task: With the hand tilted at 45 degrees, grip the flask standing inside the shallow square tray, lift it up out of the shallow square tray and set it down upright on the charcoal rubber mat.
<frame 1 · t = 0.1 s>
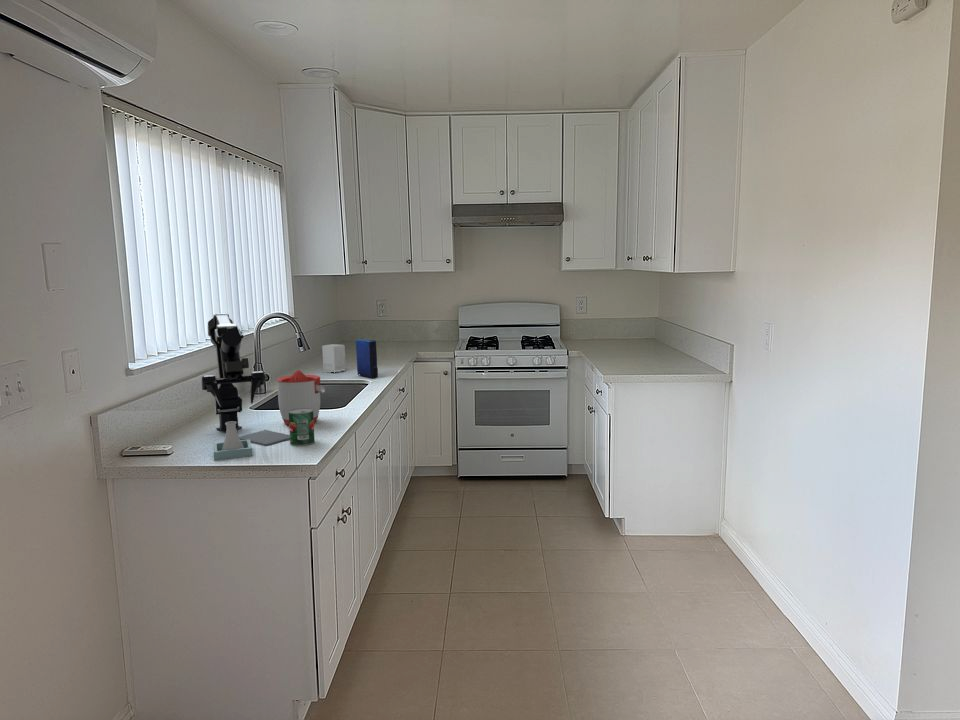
hand: (236, 405, 202), 15 cm above the worktop, tool tilted 35°, fingers open, 9 cm apart
canned tomato: (302, 443, 213), on the worktop
citrus juicer: (303, 423, 241), on the worktop
book: (367, 377, 339), on the worktop
shallow square tray: (232, 453, 202), on the worktop
supplement box: (334, 372, 357), on the worktop
mat: (265, 438, 219), on the worktop
flask: (232, 454, 202), resting in shallow square tray
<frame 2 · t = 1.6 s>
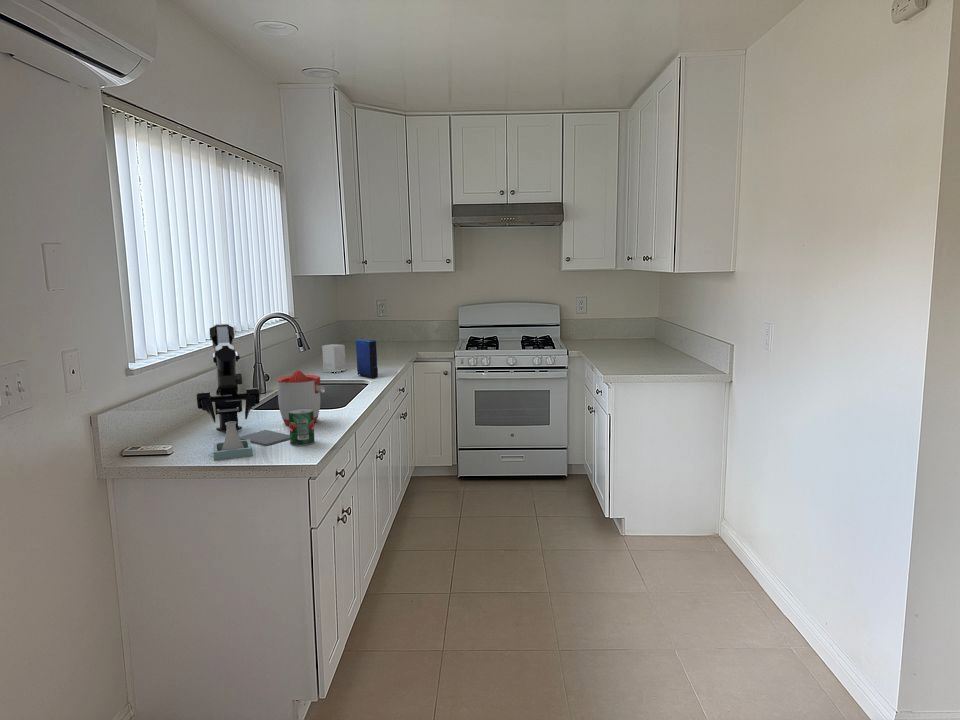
hand: (230, 420, 202), 10 cm above the worktop, tool tilted 45°, fingers open, 9 cm apart
nothing on the worktop moved.
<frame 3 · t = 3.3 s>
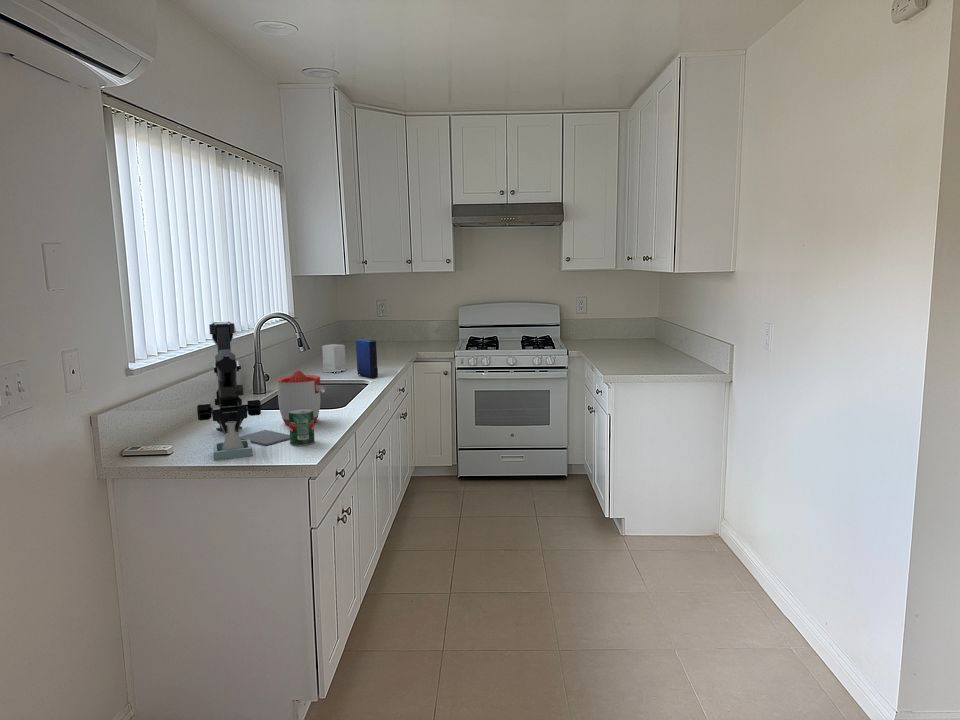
hand: (231, 432, 199), 7 cm above the worktop, tool tilted 45°, fingers closed on flask, 3 cm apart
flask: (232, 453, 202), resting in shallow square tray, touching gripper
everything else where it was.
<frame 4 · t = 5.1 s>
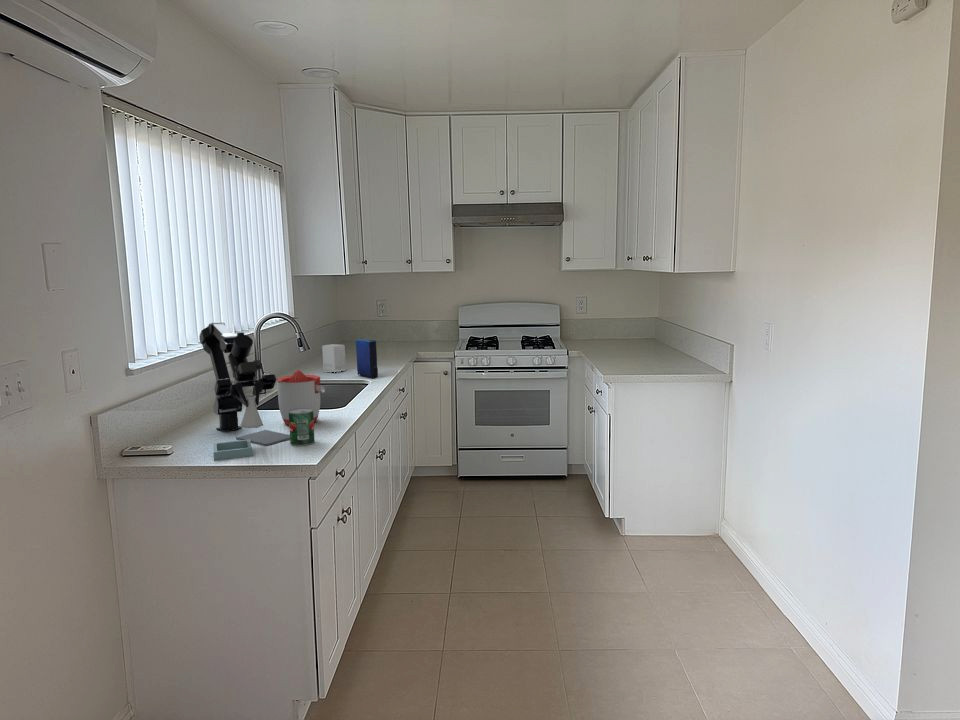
hand: (252, 405, 207), 14 cm above the worktop, tool tilted 45°, fingers closed on flask, 3 cm apart
flask: (252, 426, 209), point 6 cm above the worktop, touching gripper
everything else where it was.
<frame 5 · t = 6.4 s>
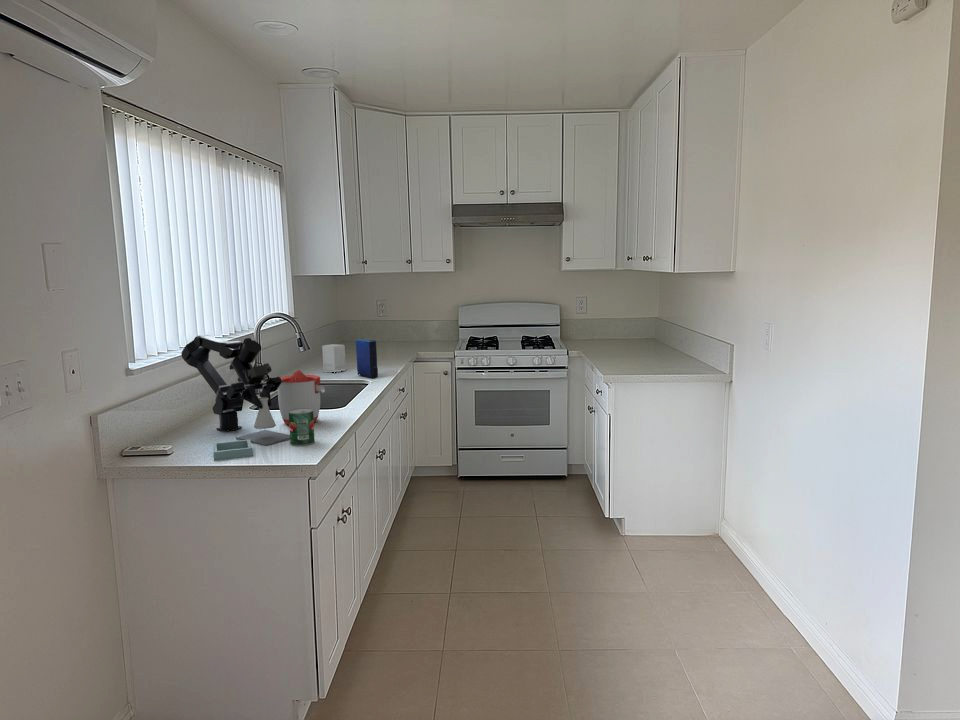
hand: (266, 407, 217), 11 cm above the worktop, tool tilted 45°, fingers closed on flask, 3 cm apart
flask: (264, 427, 218), point 4 cm above the worktop, touching gripper
everything else where it was.
when the fingers open (9 cm above the worktop, at t = 7.1 s): flask drops 1 cm, resting on mat.
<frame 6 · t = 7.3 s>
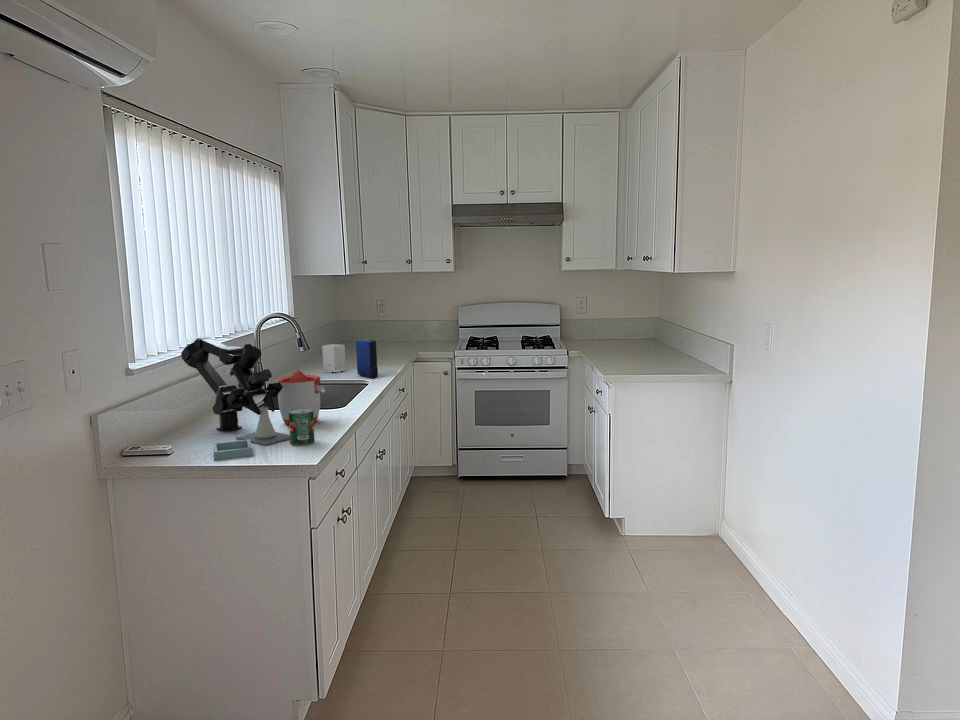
hand: (266, 412, 217), 9 cm above the worktop, tool tilted 45°, fingers open, 5 cm apart
flask: (265, 437, 219), resting on mat
everything else where it was.
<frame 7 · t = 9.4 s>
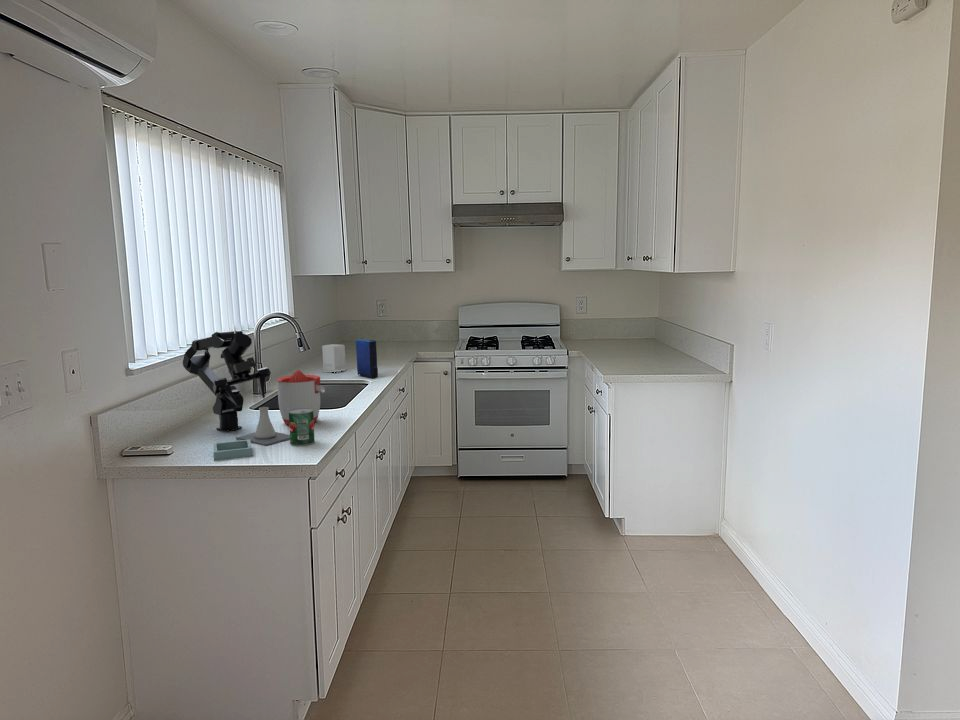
hand: (250, 401, 219), 12 cm above the worktop, tool tilted 35°, fingers open, 9 cm apart
nothing on the worktop moved.
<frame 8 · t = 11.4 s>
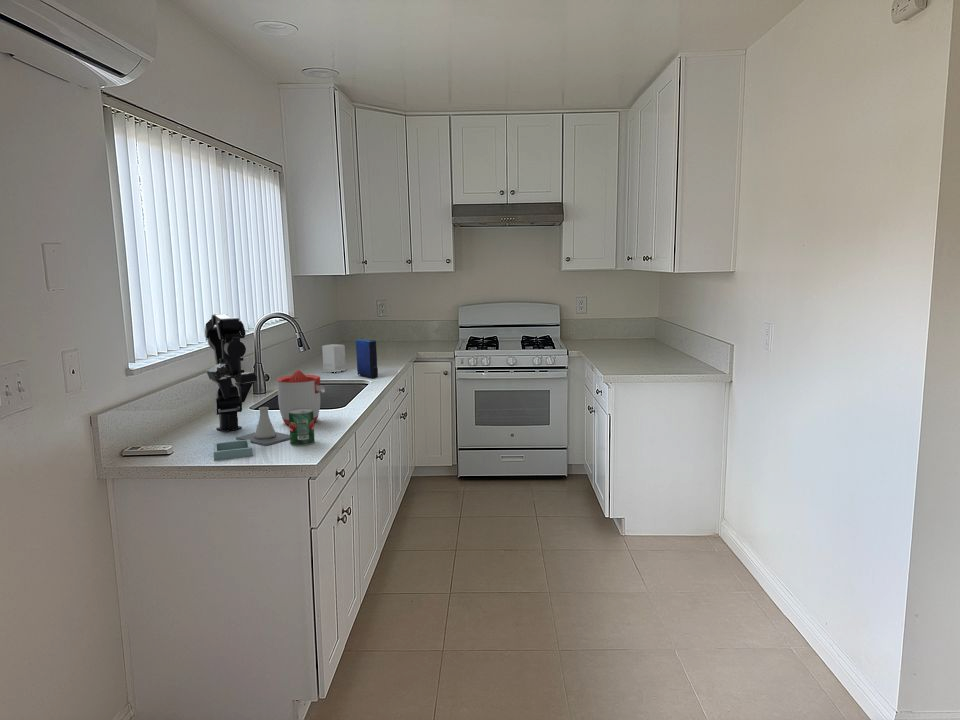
hand: (234, 400, 218), 13 cm above the worktop, tool pointing down, fingers open, 9 cm apart
nothing on the worktop moved.
at the end: flask inside the target area on the mat (0.2 cm from its centre), point 0.4 cm above the mat's base; flask tilted 0°; the gripper is holding nothing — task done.
